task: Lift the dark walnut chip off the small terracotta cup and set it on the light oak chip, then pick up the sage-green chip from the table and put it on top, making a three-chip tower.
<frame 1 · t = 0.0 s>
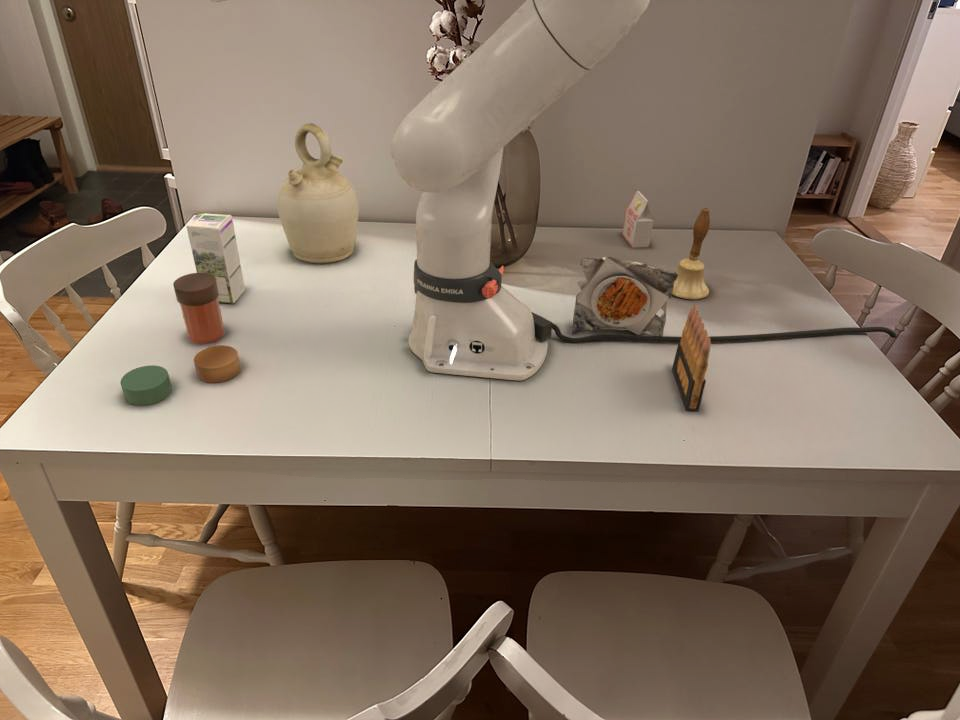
oak chip: (219, 370, 103), on the table
ammunition clip: (684, 390, 103), on the table
meal: (616, 335, 115), on the table
cup: (206, 334, 111), on the table
walnut chip: (198, 296, 107), point 7 cm above the table, touching cup
syrup box: (224, 296, 122), on the table
green chip: (148, 392, 98), on the table
hand bell: (686, 290, 130), on the table
white carton: (635, 241, 148), on the table
jug: (323, 251, 139), on the table
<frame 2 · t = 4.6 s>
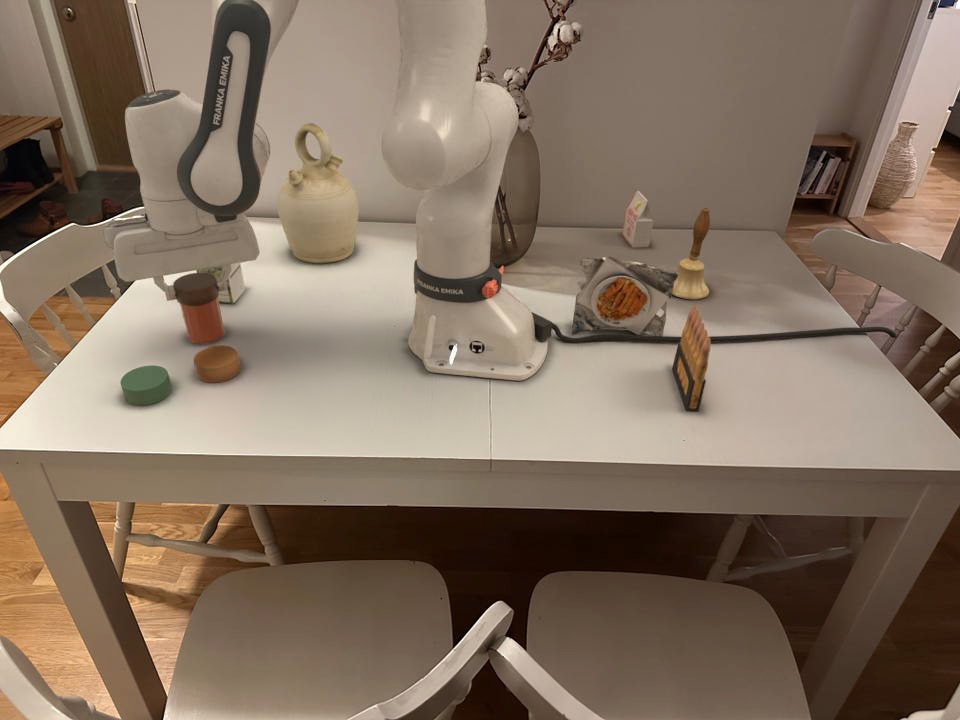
hand: (197, 293, 107), 7 cm above the table, tool pointing down, fingers closed on walnut chip, 6 cm apart
walnut chip: (198, 296, 107), point 7 cm above the table, touching cup, gripper
everything else where it was.
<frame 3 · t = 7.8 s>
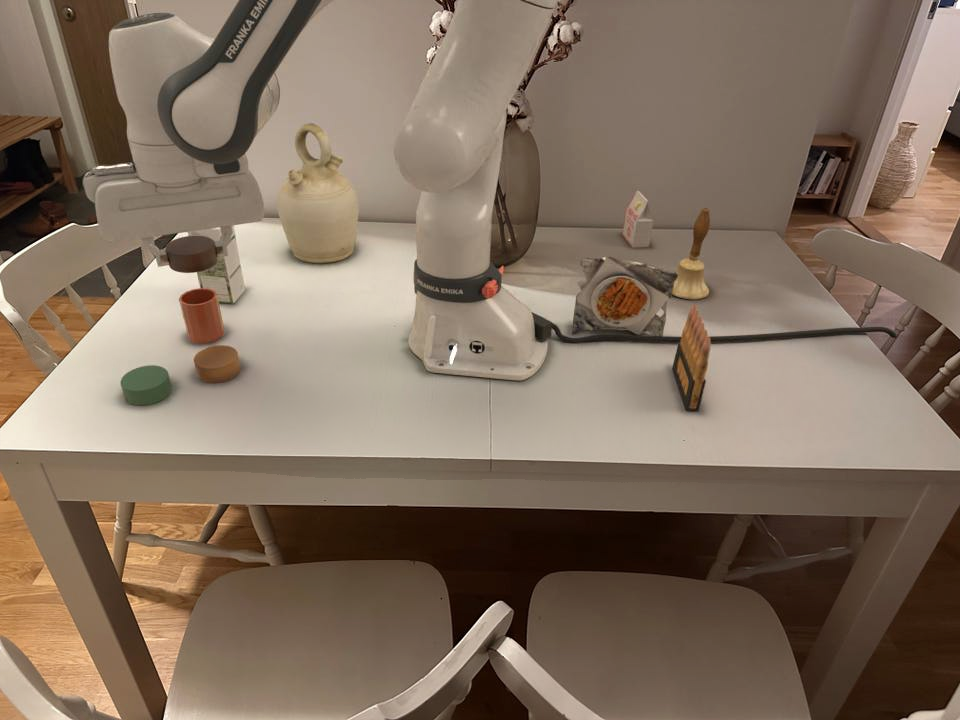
hand: (193, 259, 93), 18 cm above the table, tool pointing down, fingers closed on walnut chip, 6 cm apart
walnut chip: (193, 262, 93), point 18 cm above the table, touching gripper
everything else where it was.
when the fingers open (3 cm above the table, at t = 10.9 s): walnut chip stays where it is, resting on oak chip.
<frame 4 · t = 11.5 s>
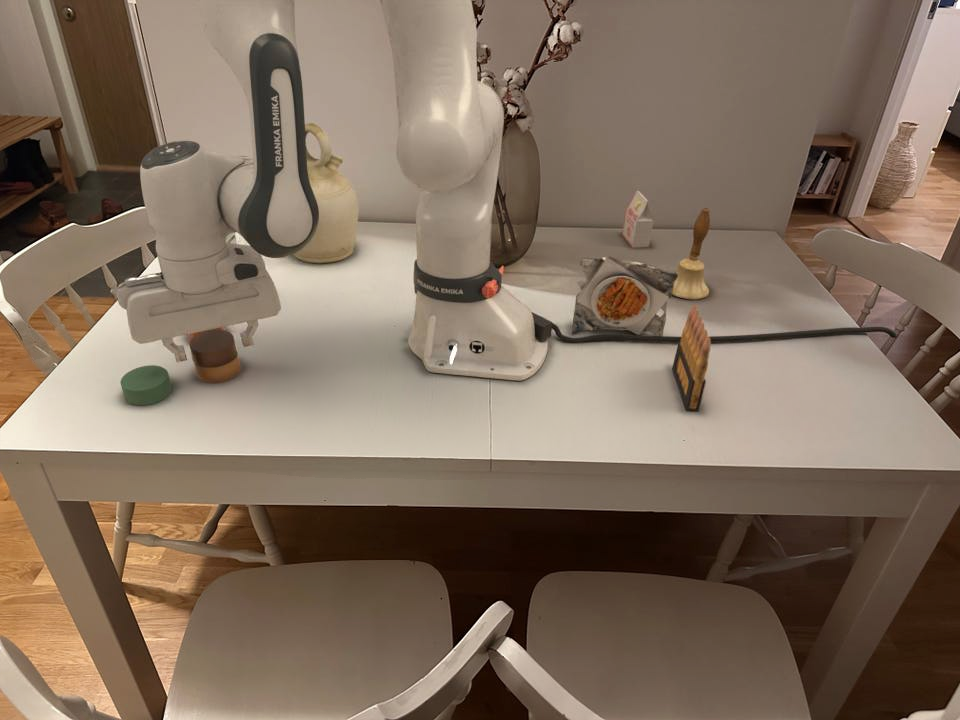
hand: (215, 351, 101), 4 cm above the table, tool pointing down, fingers open, 8 cm apart
oak chip: (219, 370, 103), on the table, touching walnut chip
walnut chip: (214, 355, 102), point 3 cm above the table, touching oak chip
everything else where it was.
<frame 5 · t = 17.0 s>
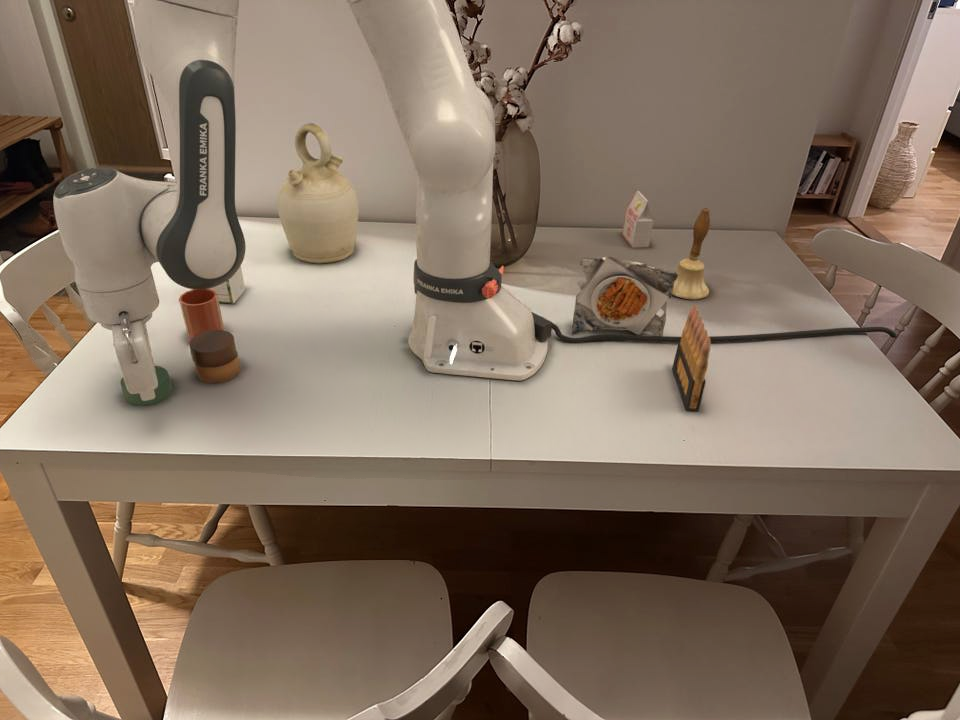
hand: (145, 382, 97), 2 cm above the table, tool pointing down, fingers closed on green chip, 6 cm apart
green chip: (148, 392, 98), on the table, touching gripper
everything else where it was.
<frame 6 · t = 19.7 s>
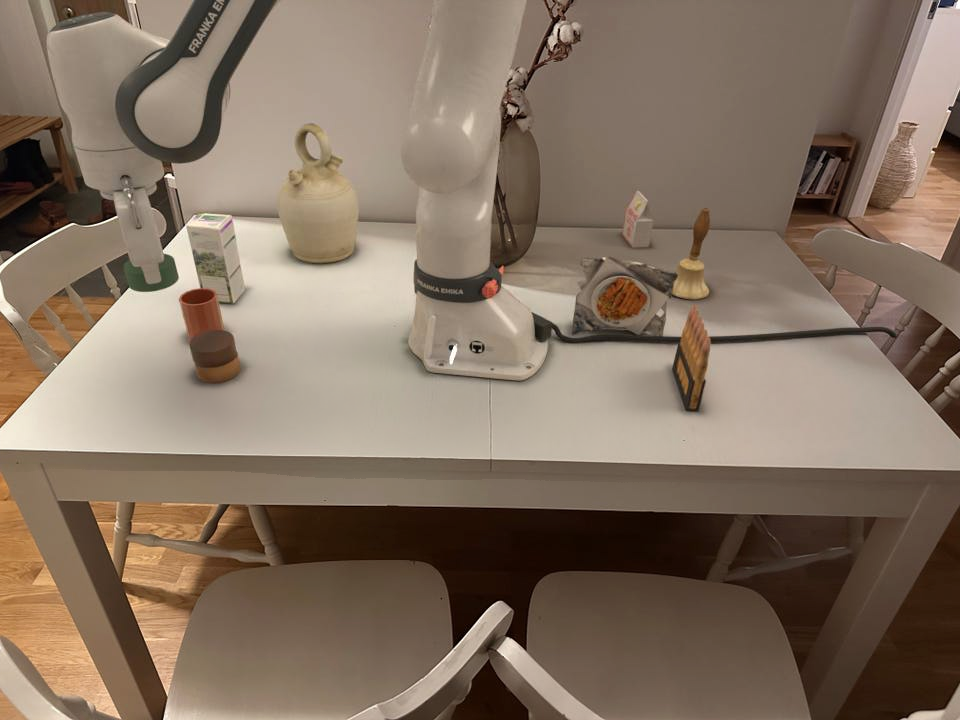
hand: (150, 269, 90), 18 cm above the table, tool pointing down, fingers closed on green chip, 6 cm apart
green chip: (153, 281, 91), point 17 cm above the table, touching gripper
everything else where it was.
when the fingers open (7 cm above the table, at t = 22.4 s): green chip stays where it is, resting on walnut chip.
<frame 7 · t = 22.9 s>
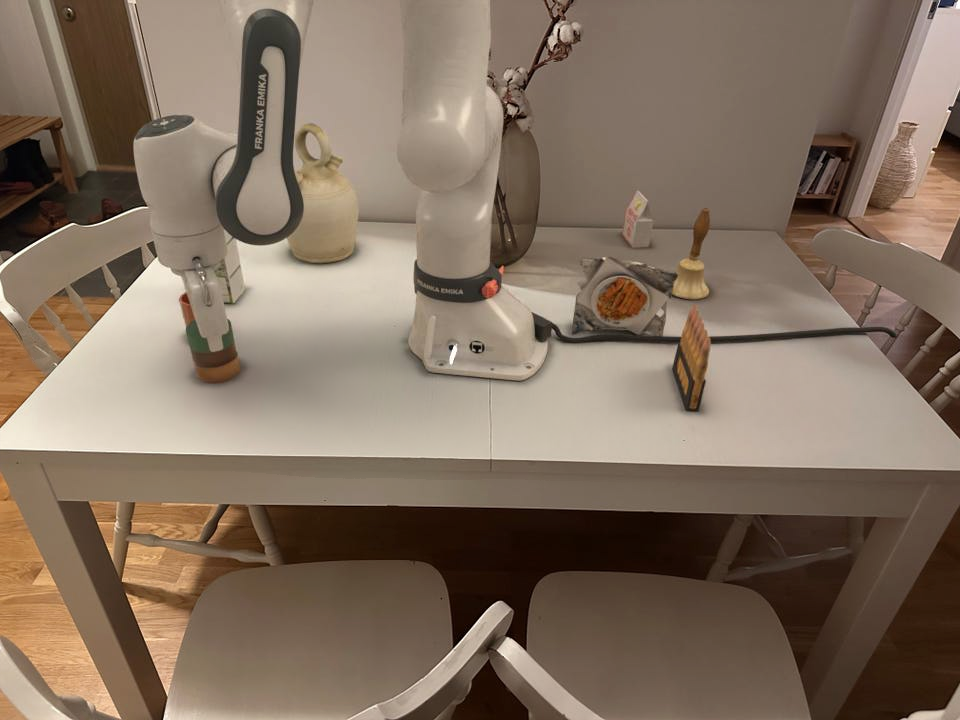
hand: (210, 332, 99), 7 cm above the table, tool pointing down, fingers open, 8 cm apart
walnut chip: (214, 355, 102), point 3 cm above the table, touching green chip, oak chip
green chip: (211, 341, 100), point 5 cm above the table, touching walnut chip
everything else where it was.
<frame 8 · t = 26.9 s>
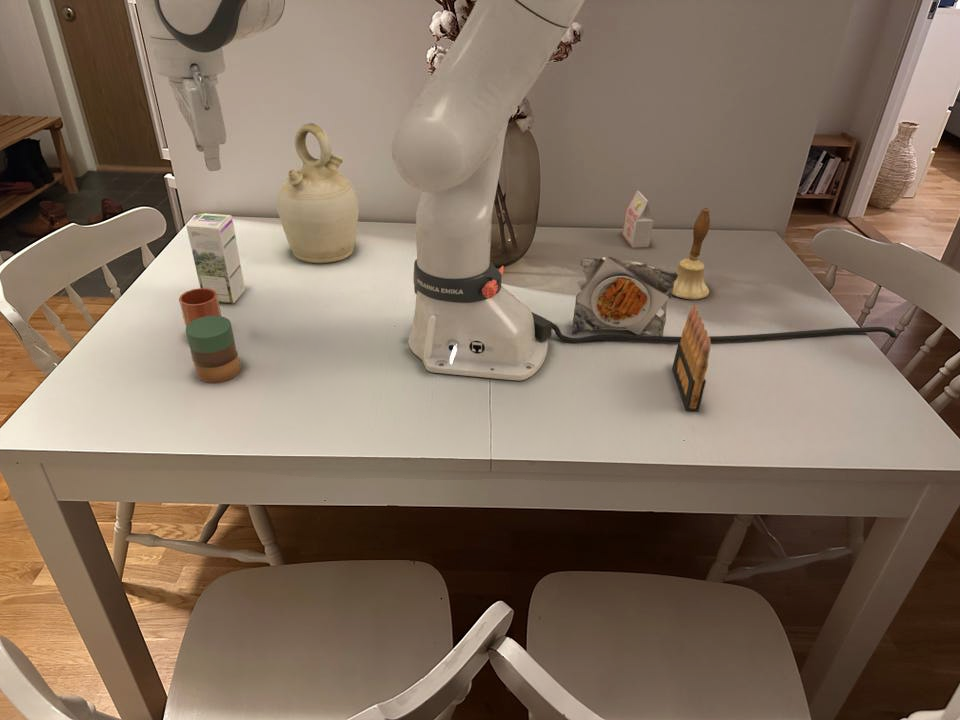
hand: (208, 159, 100), 27 cm above the table, tool pointing down, fingers open, 8 cm apart
nothing on the table moved.
at the end: walnut chip 0.4 cm off-centre on the oak chip, point 2.6 cm above the oak chip's base; green chip 0.2 cm off-centre on the walnut chip, point 2.6 cm above the walnut chip's base; green chip tilted 0° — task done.
